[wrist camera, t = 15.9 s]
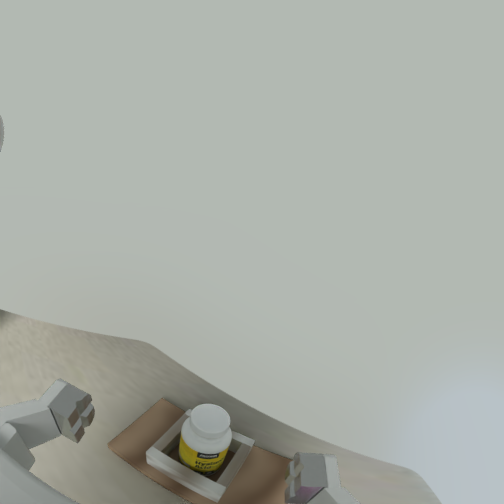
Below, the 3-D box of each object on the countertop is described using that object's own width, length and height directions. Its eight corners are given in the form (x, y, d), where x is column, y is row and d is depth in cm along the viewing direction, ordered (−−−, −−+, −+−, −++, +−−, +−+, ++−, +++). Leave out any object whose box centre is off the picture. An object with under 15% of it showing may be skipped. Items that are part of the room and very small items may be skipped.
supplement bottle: (190, 482, 23) (198, 444, 20) (171, 449, 27) (173, 403, 24) (230, 469, 26) (247, 428, 23) (208, 439, 30) (220, 393, 27)
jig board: (108, 447, 24) (103, 431, 23) (162, 401, 35) (162, 384, 34) (271, 535, 17) (282, 528, 16) (301, 467, 28) (311, 453, 27)
